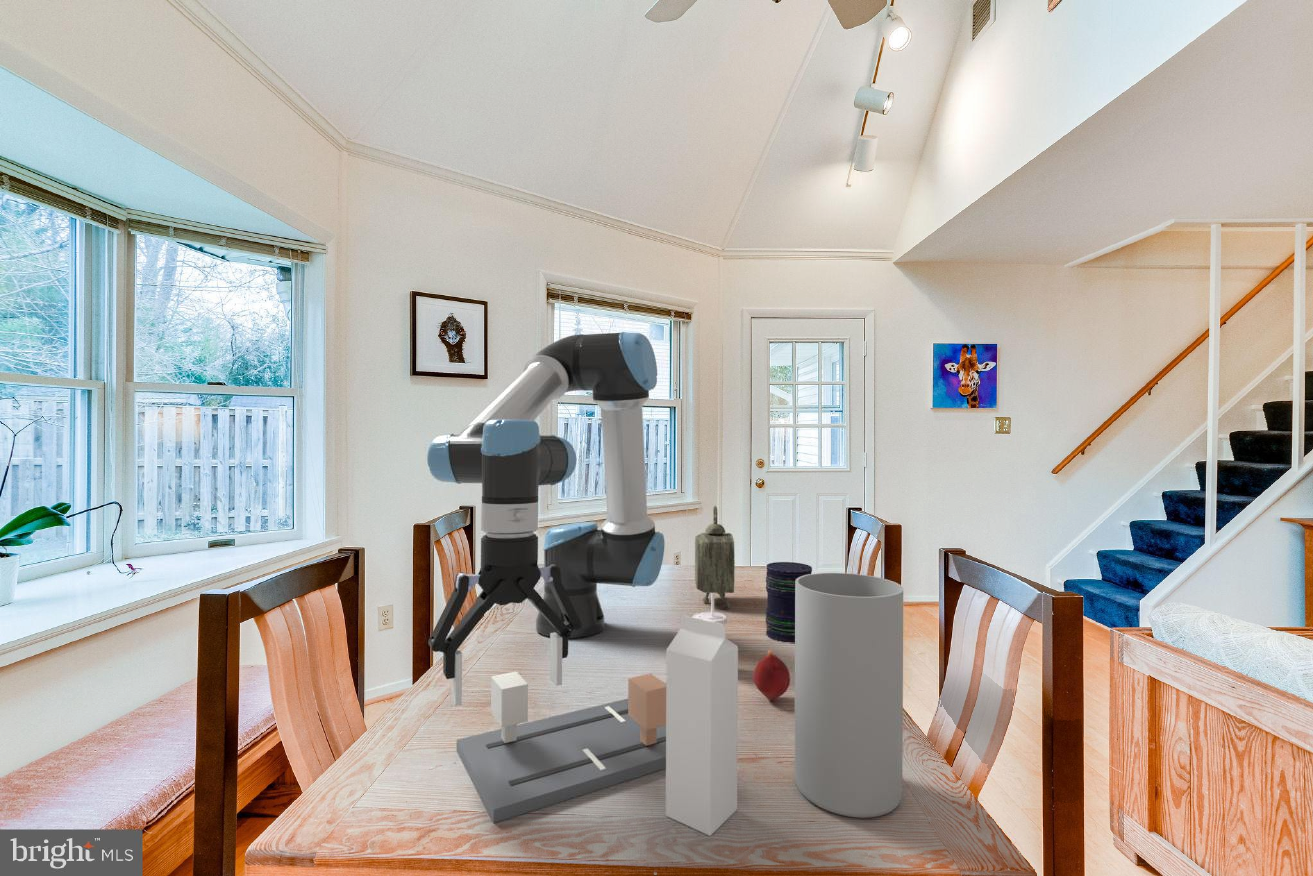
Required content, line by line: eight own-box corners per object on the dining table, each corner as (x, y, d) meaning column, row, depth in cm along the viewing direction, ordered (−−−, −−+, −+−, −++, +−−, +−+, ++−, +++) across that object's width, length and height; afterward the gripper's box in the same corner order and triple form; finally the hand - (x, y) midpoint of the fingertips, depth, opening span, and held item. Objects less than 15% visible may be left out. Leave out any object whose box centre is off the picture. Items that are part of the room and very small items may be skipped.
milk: (694, 792, 74) (695, 609, 74) (738, 810, 70) (739, 618, 70) (664, 817, 69) (665, 620, 69) (710, 838, 65) (711, 631, 65)
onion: (791, 695, 101) (792, 647, 101) (787, 710, 96) (787, 659, 96) (756, 690, 103) (757, 643, 103) (750, 704, 98) (750, 654, 98)
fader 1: (490, 734, 84) (491, 676, 84) (515, 728, 86) (516, 671, 86) (501, 750, 80) (501, 689, 80) (527, 744, 81) (527, 683, 81)
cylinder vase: (846, 834, 66) (847, 602, 66) (773, 776, 77) (774, 578, 77) (925, 802, 72) (926, 589, 72) (847, 753, 83) (848, 569, 83)
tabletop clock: (734, 611, 150) (734, 509, 150) (697, 611, 150) (698, 509, 150) (728, 596, 165) (728, 503, 165) (694, 595, 165) (695, 503, 165)
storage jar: (760, 639, 129) (761, 569, 129) (770, 626, 139) (770, 560, 139) (808, 645, 126) (809, 573, 126) (815, 631, 135) (815, 564, 135)
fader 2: (628, 737, 83) (628, 678, 83) (650, 730, 85) (650, 673, 85) (646, 753, 79) (646, 691, 79) (669, 746, 81) (669, 686, 81)
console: (456, 750, 83) (456, 738, 83) (637, 705, 97) (637, 695, 97) (493, 823, 67) (493, 808, 67) (702, 756, 82) (702, 744, 82)
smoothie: (725, 676, 109) (725, 598, 109) (689, 673, 110) (689, 596, 110) (728, 663, 115) (728, 589, 115) (694, 661, 117) (694, 588, 117)
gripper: (416, 544, 73) (414, 723, 73) (605, 531, 86) (603, 683, 85) (406, 536, 79) (404, 700, 79) (583, 524, 92) (582, 666, 92)
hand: (508, 691), depth 82 cm, fingers open, 13 cm apart
